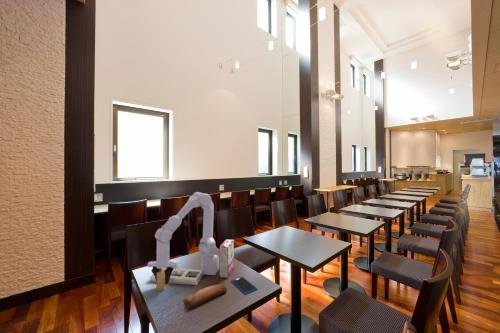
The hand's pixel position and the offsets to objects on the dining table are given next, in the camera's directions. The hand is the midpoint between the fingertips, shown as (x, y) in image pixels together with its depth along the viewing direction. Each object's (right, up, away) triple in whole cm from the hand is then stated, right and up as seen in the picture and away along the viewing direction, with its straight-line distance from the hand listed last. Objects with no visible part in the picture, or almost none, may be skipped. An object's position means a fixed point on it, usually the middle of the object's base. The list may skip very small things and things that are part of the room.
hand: (163, 282), depth 102 cm
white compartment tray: (+4, -2, +9) cm, 10 cm away
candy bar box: (+29, -3, +14) cm, 33 cm away
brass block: (0, -2, 0) cm, 2 cm away
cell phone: (+39, -3, +2) cm, 39 cm away
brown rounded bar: (+22, -3, -7) cm, 23 cm away
